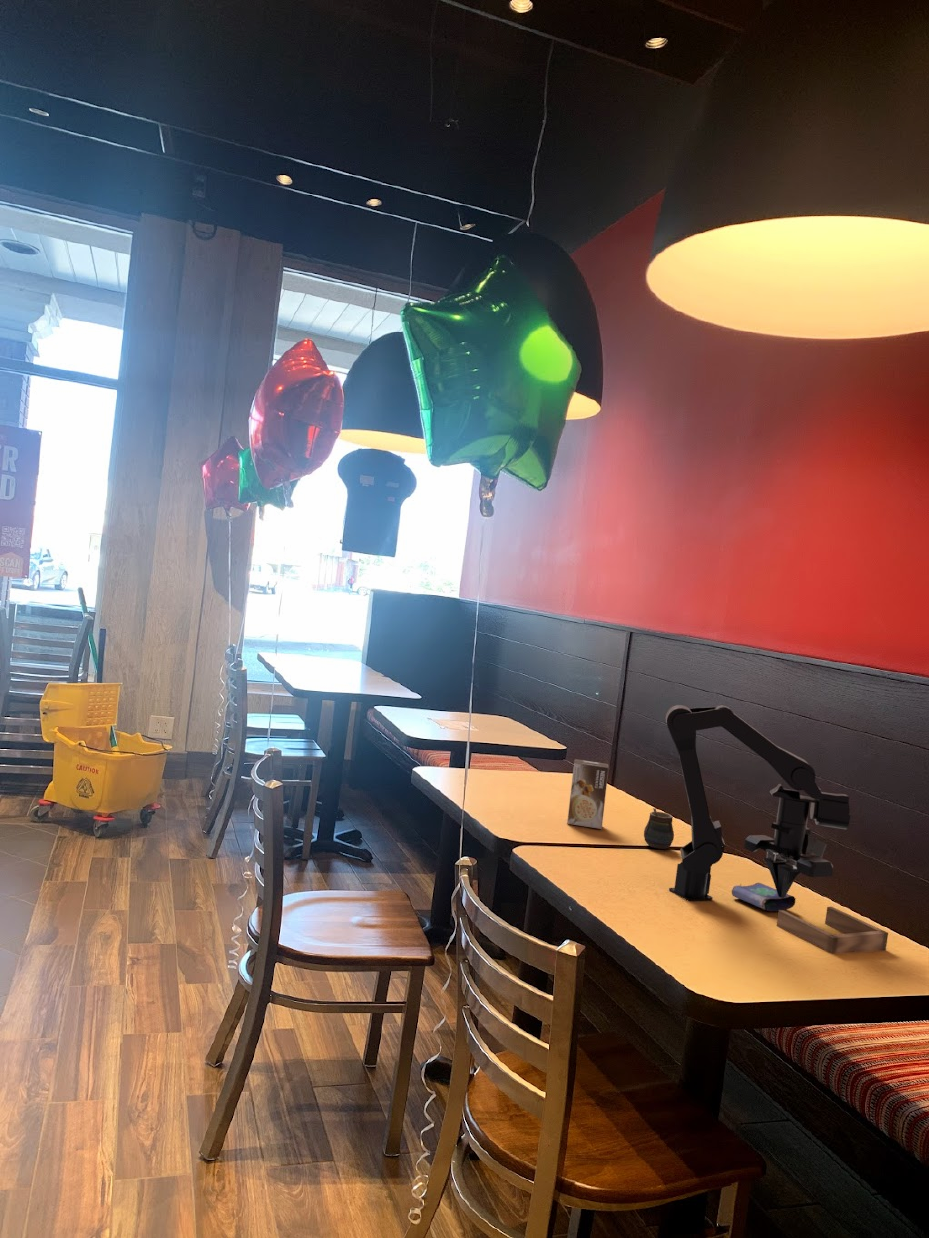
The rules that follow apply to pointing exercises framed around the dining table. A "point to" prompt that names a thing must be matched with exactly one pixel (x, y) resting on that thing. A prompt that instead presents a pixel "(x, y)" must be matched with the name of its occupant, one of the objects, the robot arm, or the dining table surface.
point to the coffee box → (588, 794)
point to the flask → (763, 897)
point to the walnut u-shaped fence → (854, 939)
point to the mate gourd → (659, 830)
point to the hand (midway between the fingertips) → (781, 897)
